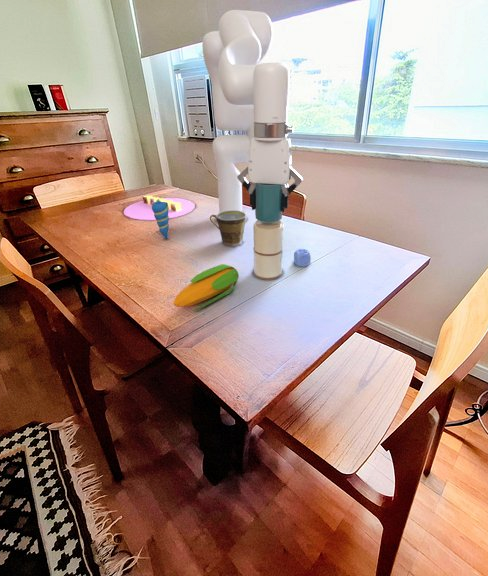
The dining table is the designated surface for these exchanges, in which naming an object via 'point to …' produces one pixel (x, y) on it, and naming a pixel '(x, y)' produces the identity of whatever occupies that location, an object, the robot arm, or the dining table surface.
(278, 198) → the teal cup
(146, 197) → the platter
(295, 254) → the decorative dice
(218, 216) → the ceramic cup
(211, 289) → the corn
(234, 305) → the dining table surface
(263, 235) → the cup stack
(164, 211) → the ornament
